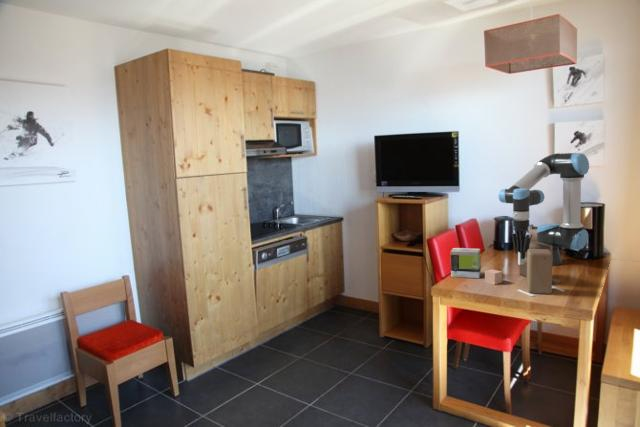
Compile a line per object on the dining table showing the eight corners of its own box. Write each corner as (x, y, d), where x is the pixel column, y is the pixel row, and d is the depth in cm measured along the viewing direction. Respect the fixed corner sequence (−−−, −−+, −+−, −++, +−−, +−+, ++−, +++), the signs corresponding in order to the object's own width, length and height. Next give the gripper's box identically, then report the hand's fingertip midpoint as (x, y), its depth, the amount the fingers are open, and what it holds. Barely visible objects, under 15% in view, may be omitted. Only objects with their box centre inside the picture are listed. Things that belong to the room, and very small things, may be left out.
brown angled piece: (531, 273, 248) (532, 237, 245) (560, 282, 229) (561, 244, 226) (519, 274, 246) (519, 239, 243) (547, 284, 227) (548, 246, 224)
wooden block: (552, 294, 212) (553, 253, 209) (528, 293, 215) (529, 252, 212) (548, 288, 221) (549, 248, 219) (526, 287, 224) (527, 248, 222)
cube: (492, 280, 239) (492, 269, 238) (502, 282, 234) (502, 271, 233) (484, 282, 236) (484, 271, 235) (494, 284, 231) (494, 273, 230)
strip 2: (548, 285, 226) (548, 284, 225) (564, 291, 216) (564, 290, 216) (545, 285, 225) (545, 285, 225) (561, 291, 216) (561, 290, 216)
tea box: (480, 274, 251) (481, 248, 249) (479, 279, 242) (479, 252, 240) (453, 272, 257) (453, 247, 255) (450, 277, 248) (450, 250, 246)
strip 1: (519, 290, 221) (519, 289, 221) (534, 296, 211) (534, 295, 211) (517, 290, 220) (517, 289, 220) (532, 296, 211) (532, 295, 211)
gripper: (506, 218, 232) (506, 262, 236) (524, 221, 220) (524, 268, 223) (518, 216, 234) (518, 260, 238) (536, 220, 222) (536, 266, 225)
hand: (521, 264), depth 230 cm, fingers closed
